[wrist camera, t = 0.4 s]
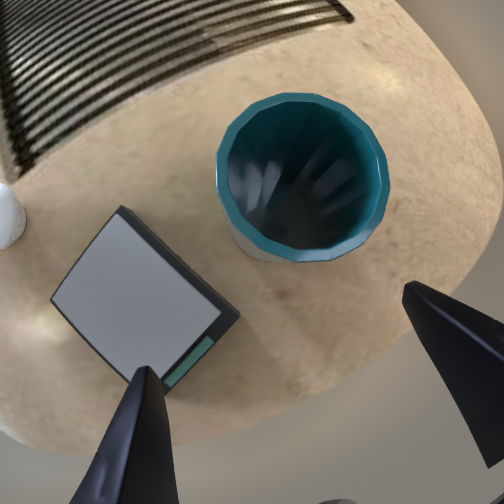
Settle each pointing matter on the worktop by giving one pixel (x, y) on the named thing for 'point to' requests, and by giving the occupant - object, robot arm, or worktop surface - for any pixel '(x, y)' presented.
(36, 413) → the worktop surface
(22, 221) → the white frosted cupcake
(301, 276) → the worktop surface
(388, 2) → the worktop surface
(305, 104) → the cup
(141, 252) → the scale
